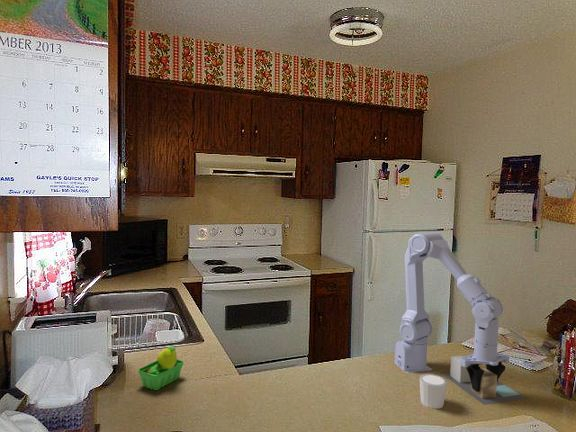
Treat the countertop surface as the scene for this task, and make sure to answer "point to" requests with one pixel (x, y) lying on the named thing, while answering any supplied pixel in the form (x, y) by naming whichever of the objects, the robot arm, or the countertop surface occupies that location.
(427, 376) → the white tapered cylinder
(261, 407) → the countertop surface
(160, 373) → the fruit basket
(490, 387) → the maple block
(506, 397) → the mat
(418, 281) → the robot arm
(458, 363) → the grey block
